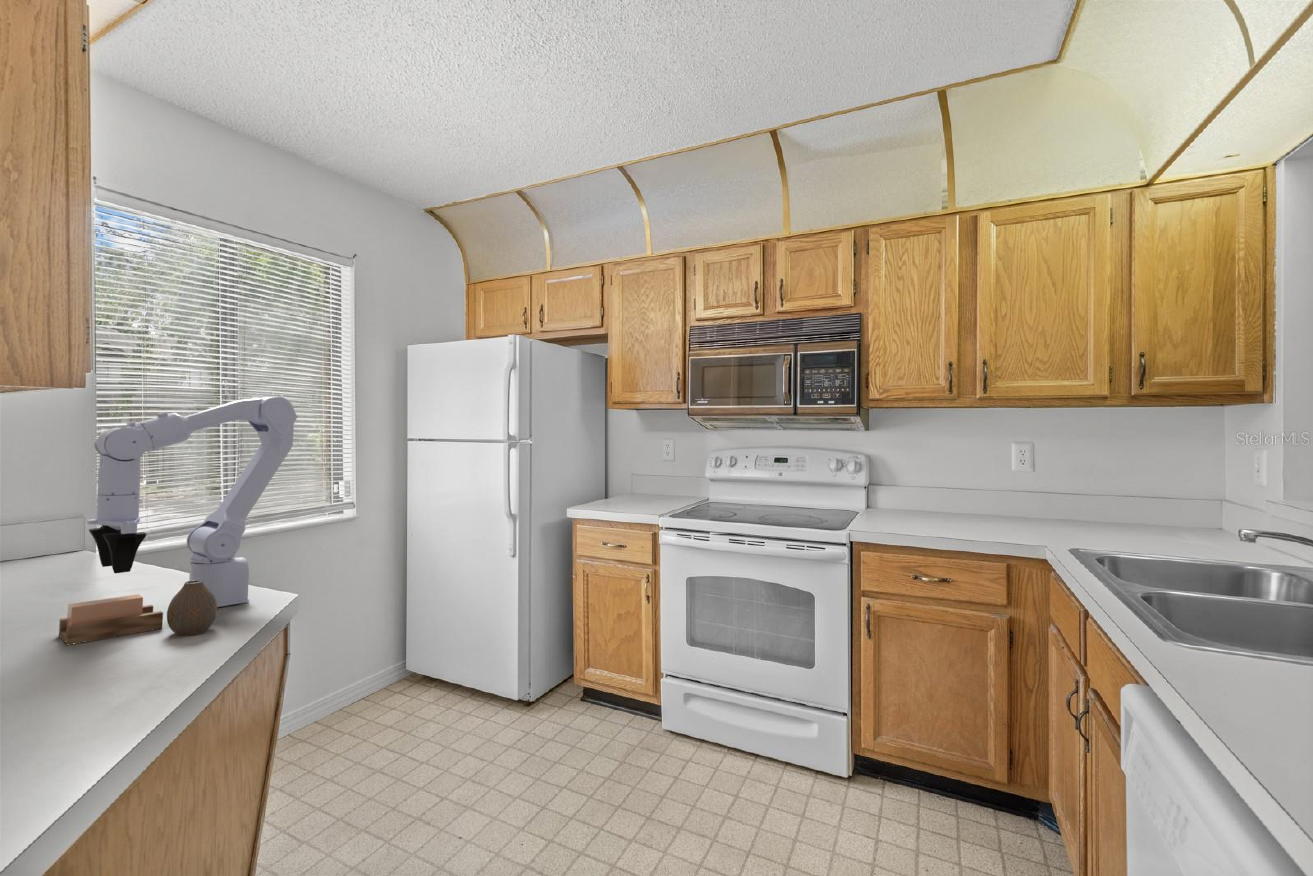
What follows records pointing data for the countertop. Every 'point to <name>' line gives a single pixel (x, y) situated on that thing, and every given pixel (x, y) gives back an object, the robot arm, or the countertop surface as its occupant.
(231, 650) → the countertop surface
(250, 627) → the countertop surface
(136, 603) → the clay strip
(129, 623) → the rack
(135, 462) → the robot arm
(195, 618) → the vase
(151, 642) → the countertop surface
